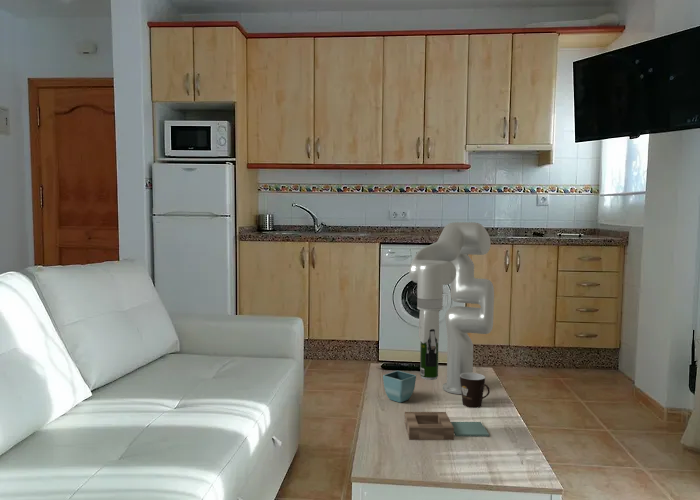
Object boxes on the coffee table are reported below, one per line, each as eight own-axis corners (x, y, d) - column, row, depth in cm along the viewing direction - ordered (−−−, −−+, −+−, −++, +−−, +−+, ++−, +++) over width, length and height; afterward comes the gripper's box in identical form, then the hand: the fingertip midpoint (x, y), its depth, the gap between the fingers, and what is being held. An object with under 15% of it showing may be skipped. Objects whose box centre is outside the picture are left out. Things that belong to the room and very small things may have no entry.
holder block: (404, 422, 168) (404, 411, 168) (445, 422, 168) (445, 411, 168) (409, 439, 155) (409, 427, 155) (453, 439, 155) (453, 428, 155)
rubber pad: (448, 423, 167) (449, 421, 167) (480, 423, 167) (480, 421, 167) (455, 436, 157) (455, 434, 157) (489, 436, 157) (489, 434, 157)
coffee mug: (456, 400, 189) (456, 372, 188) (480, 400, 190) (480, 372, 189) (466, 412, 177) (466, 382, 177) (491, 411, 178) (491, 382, 177)
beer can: (428, 381, 157) (428, 341, 156) (416, 376, 161) (416, 337, 161) (441, 378, 160) (442, 339, 159) (429, 373, 164) (430, 335, 164)
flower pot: (416, 399, 189) (417, 375, 189) (401, 406, 183) (401, 380, 183) (397, 394, 195) (397, 370, 195) (382, 400, 189) (382, 375, 189)
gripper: (413, 299, 168) (413, 355, 169) (421, 309, 151) (420, 371, 152) (437, 299, 168) (436, 355, 169) (447, 309, 151) (446, 371, 152)
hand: (429, 362), depth 160 cm, fingers closed on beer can, 5 cm apart
